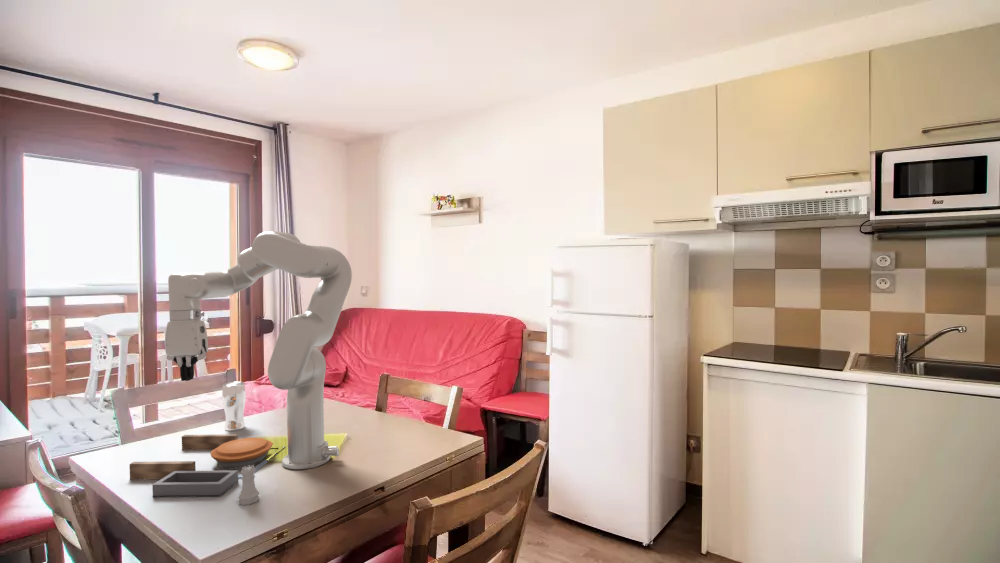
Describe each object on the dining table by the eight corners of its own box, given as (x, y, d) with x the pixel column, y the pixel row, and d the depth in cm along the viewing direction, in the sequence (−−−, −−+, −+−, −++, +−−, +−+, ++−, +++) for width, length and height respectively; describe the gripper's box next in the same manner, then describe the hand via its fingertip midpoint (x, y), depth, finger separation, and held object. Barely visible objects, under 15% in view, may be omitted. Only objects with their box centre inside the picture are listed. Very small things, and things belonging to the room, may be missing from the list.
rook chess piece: (242, 497, 118) (242, 463, 118) (262, 496, 119) (261, 462, 119) (234, 506, 114) (233, 471, 114) (255, 505, 114) (254, 470, 114)
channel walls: (238, 447, 152) (237, 434, 152) (192, 478, 129) (191, 463, 129) (185, 448, 152) (184, 434, 152) (130, 479, 129) (129, 464, 129)
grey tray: (238, 482, 127) (237, 470, 127) (220, 496, 119) (220, 484, 119) (174, 482, 127) (174, 471, 127) (152, 497, 119) (152, 484, 119)
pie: (220, 453, 147) (220, 436, 147) (277, 448, 151) (277, 432, 150) (202, 475, 132) (201, 456, 132) (266, 468, 135) (265, 450, 135)
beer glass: (218, 430, 169) (217, 385, 168) (236, 423, 175) (235, 380, 175) (233, 432, 166) (232, 387, 166) (251, 426, 172) (249, 382, 172)
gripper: (218, 314, 148) (220, 376, 149) (167, 315, 148) (170, 377, 149) (203, 317, 141) (205, 382, 141) (150, 318, 141) (152, 383, 141)
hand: (187, 379), depth 145 cm, fingers closed
